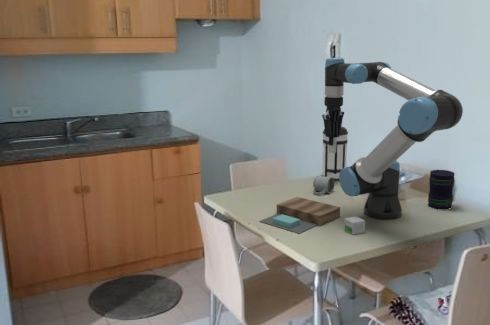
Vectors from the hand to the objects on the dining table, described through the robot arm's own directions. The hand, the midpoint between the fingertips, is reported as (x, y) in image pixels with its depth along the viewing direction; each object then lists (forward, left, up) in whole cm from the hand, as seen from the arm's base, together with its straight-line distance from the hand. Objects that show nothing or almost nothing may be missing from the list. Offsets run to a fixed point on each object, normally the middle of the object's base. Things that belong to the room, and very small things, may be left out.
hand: (332, 152), depth 213 cm
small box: (-22, +17, -25) cm, 37 cm away
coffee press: (+24, -39, -25) cm, 52 cm away
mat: (+2, +27, -24) cm, 36 cm away
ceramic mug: (+16, -16, -25) cm, 34 cm away
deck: (+2, +14, -24) cm, 28 cm away
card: (+2, +28, -22) cm, 36 cm away
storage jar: (-34, -32, -25) cm, 53 cm away
